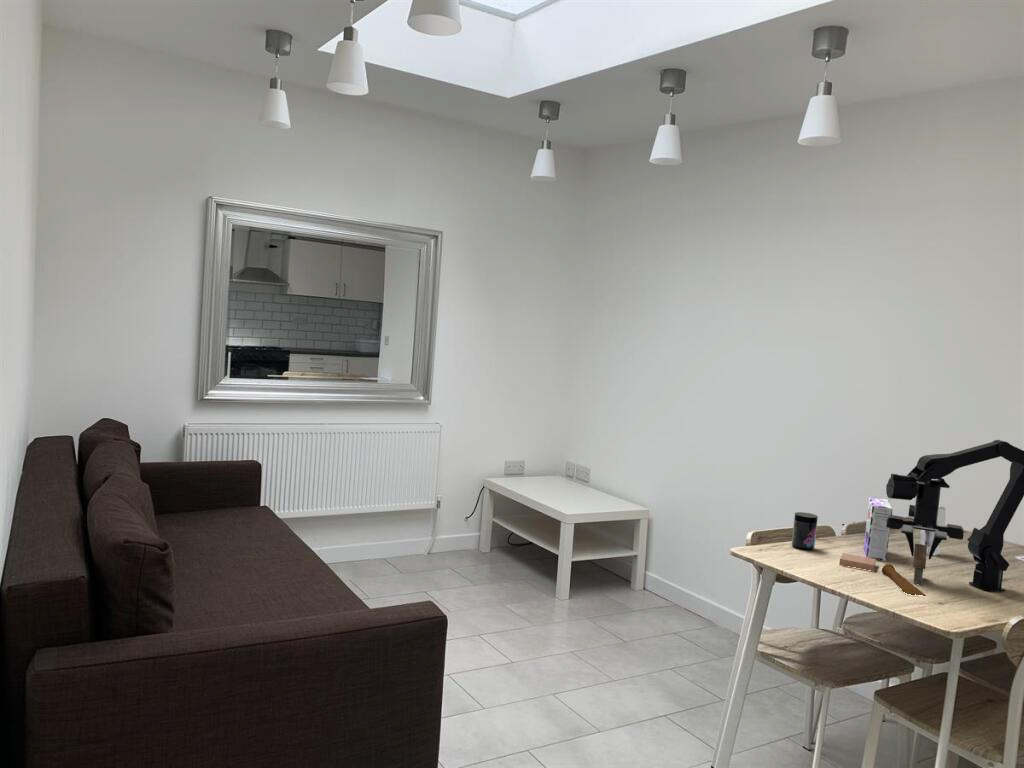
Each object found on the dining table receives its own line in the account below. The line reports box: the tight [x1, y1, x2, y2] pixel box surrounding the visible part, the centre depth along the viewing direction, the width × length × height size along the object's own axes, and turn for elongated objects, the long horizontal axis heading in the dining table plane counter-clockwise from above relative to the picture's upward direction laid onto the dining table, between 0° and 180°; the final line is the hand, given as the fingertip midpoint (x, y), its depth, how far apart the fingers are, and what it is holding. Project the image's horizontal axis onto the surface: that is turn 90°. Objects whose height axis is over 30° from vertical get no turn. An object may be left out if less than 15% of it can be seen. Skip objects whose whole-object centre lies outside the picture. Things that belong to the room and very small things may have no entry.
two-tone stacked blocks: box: [912, 543, 927, 586], centre depth 223 cm, size 3×9×10 cm, turn 152°
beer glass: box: [919, 505, 946, 557], centre depth 255 cm, size 7×7×15 cm
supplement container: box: [791, 511, 819, 552], centre depth 249 cm, size 7×7×10 cm
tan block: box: [838, 553, 877, 572], centre depth 234 cm, size 2×8×9 cm
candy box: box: [863, 496, 893, 562], centre depth 248 cm, size 14×6×16 cm, turn 160°
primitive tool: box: [881, 563, 927, 596], centre depth 218 cm, size 19×6×4 cm, turn 0°
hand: (920, 557), depth 223 cm, fingers open, 4 cm apart
